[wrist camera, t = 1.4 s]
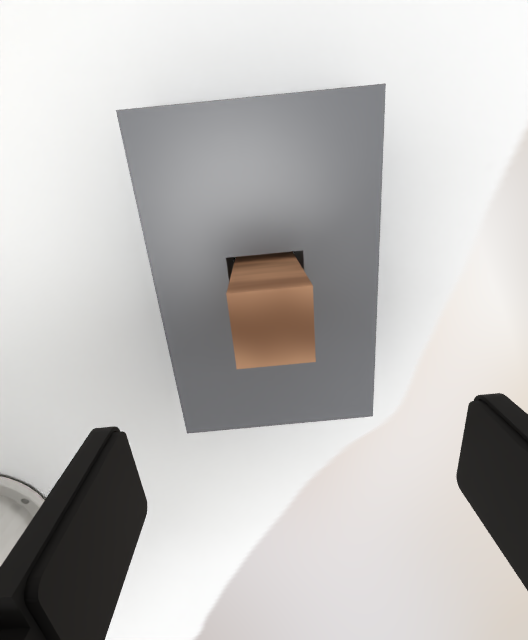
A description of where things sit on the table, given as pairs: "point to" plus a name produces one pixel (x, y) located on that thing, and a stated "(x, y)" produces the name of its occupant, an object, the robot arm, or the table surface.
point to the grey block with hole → (263, 242)
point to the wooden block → (271, 311)
